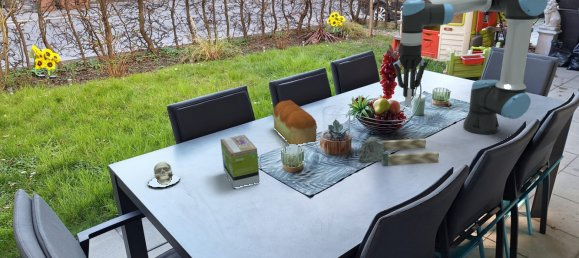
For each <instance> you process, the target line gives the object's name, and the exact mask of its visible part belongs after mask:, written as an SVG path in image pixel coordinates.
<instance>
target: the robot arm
mask: <svg viewBox="0 0 579 258" xmlns="http://www.w3.org/2000/svg"><path fill="white" fill-rule="evenodd" d="M548 3H549V0H405V1H404V2H403V3H402V10H401V11H402V13H401V16H402V17H401V34H400V35H401V36H400V37H401V38H400V39H401V40H400V43H401V45H400V56H399V58H398V60H397V61H396V62H393V63H392V66H393V68H394V69H395V74H396V81H397V85H398V87H399V88H401V89H403V90H402V91H403V92H402V96H403V97H404V104H405V106H407V107H408V106H409V107H410V106H412V97H414V96H415V90H416V88H419V87H420V85H421V82H422V78H423V76H424V72H425V69H426V68H427V66H428V65H429V63H428V62H427V61H426V60H424V59H423V57H422V51H423V50H422V49H423V48H422V47H423V46H422V44H423V35H424V27H430V26H431V27H433V26H444V25H448V24H450V23H452V21H453V20H454V18H455V17H454V16H455V15H461V14H466V13H467V14H468V13H471V12H478V11H479V12H481V13H485V12H499V13H504V20H505V21H506V22H507V29H506V35H505V36H506V37H505V42H504V43H505V44H504V50H503V56H502V57H503V58H502V63H501V72H500V76H499V80H498V79H479V80H475V81H473V82H472V85H471V89H470V99H469V109H468V113H467V115H466V116H465V119H464V121H463V125H462V127H463V130H465V131H467V132H469V133H473V134H477V135H493V134H496V133H498V132H499V129H500V124H499V121H498V116H499V115H500V116H501V117H503V118H506V119H507V118H508V119H510V120H515V119H519V118H521V117H522V116H524V114H526V112H528V110H529V109H530V106H531V97H530V95H529V94H527V93H526V91H527V85H526V84H525V83H524V77H525V71H526V65H527V58H528V52H529V47H530V42H531V41H530V40H531V35H532V34H531V33H532V28H533V24H534V23H535V22H536V21H538V19H539V16H540V15H541V14H543V12H544V10H545V9H546V8H547V5H548ZM401 66H402V67H403V76H402V72H401V71H402V70H401ZM418 66H419V67H418ZM417 67H418V70H417ZM416 71H417V74H416ZM497 115H498V116H497Z"/></svg>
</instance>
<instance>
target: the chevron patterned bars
mask: <svg viewBox="0 0 579 258" xmlns="http://www.w3.org/2000/svg"><path fill="white" fill-rule="evenodd" d="M377 139H378V140H380V139H379V138H377ZM380 141H381V142H382V143H383V145H384V147H385V152H382V160H381V165H382V167H388V166H402V165H403V166H404V165H422V164H435V163H436V164H437V163H439V159H440V152H439V151H428V152H413V153H412V152H411V153H408V152H407V153H392V154H389V152H391V151H407V150H423V149H426V148H427V147H426V146H427V139H426V138H414V139H413V138H411V139H397V140H391V139H390V140H380Z"/></svg>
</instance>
